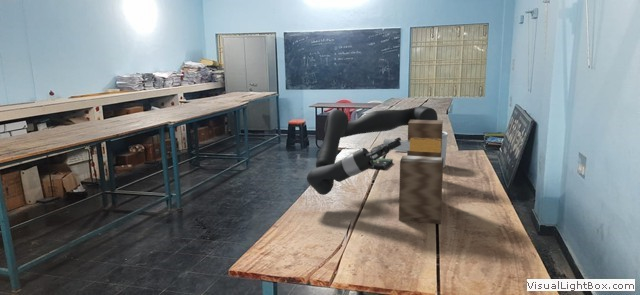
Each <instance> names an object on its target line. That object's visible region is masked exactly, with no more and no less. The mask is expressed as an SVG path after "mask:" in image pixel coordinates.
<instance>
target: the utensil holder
mask: <svg viewBox="0 0 640 295" xmlns="http://www.w3.org/2000/svg"><path fill="white" fill-rule="evenodd" d="M448 135H449V133H448V132H446V131H443V130H442V150H441V157H442V158H444V160H443V169H444V168H445V167H446V159H447V146H448V145H447V143H448V142H447V141H448Z"/></svg>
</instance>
